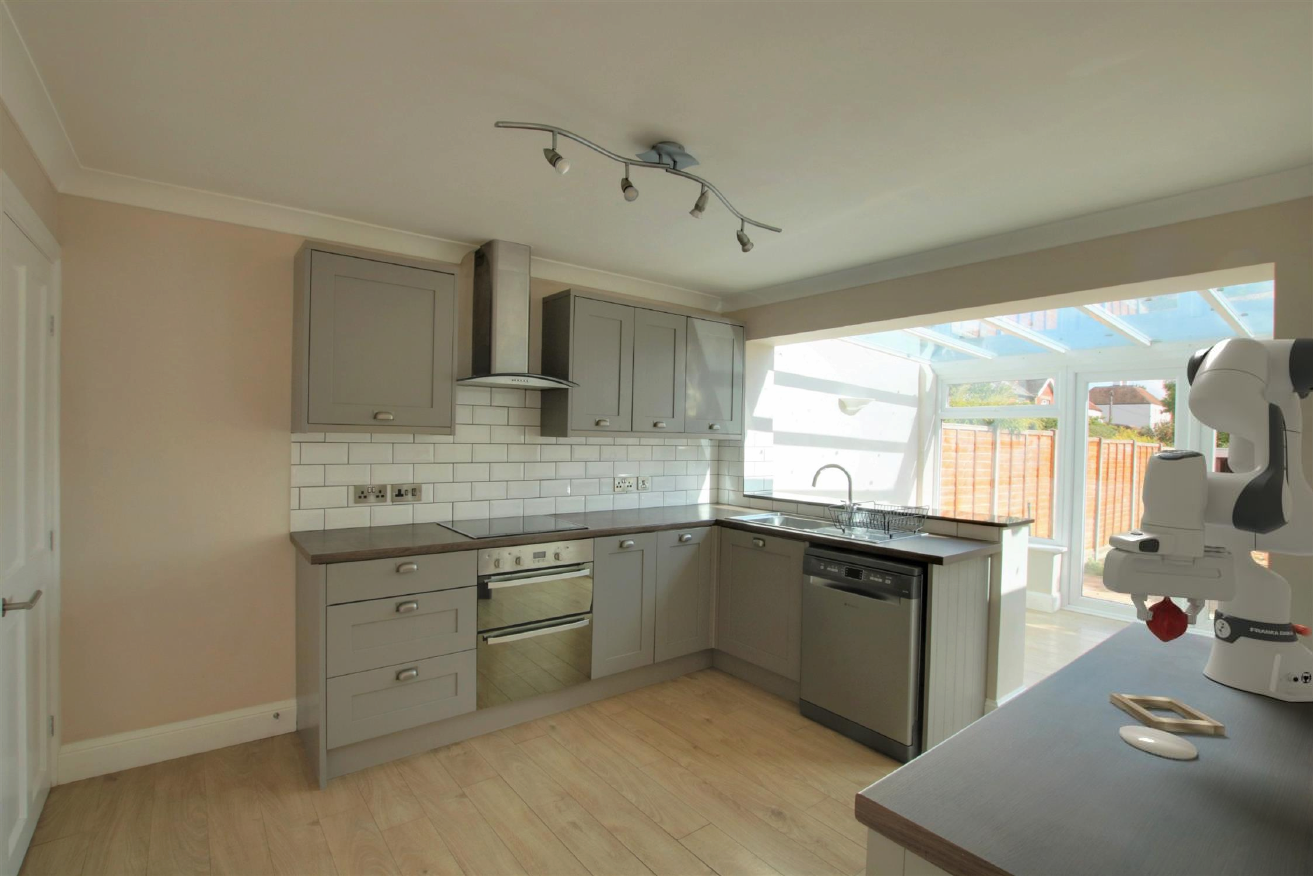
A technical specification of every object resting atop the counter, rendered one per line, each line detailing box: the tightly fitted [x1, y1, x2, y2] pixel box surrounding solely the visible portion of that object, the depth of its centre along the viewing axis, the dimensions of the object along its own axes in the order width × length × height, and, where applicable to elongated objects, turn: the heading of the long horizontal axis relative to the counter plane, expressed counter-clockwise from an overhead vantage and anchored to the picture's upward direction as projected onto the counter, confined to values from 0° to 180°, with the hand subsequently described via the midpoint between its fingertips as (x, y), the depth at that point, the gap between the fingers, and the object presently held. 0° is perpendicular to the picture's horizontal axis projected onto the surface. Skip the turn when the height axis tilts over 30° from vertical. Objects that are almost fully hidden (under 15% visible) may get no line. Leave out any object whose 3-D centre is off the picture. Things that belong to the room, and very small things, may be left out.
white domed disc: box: [1118, 725, 1198, 761], centre depth 104 cm, size 10×10×1 cm
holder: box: [1109, 693, 1226, 736], centre depth 114 cm, size 12×12×2 cm
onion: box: [1145, 596, 1189, 643], centre depth 111 cm, size 6×6×8 cm
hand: (1165, 622), depth 111 cm, fingers closed on onion, 6 cm apart
